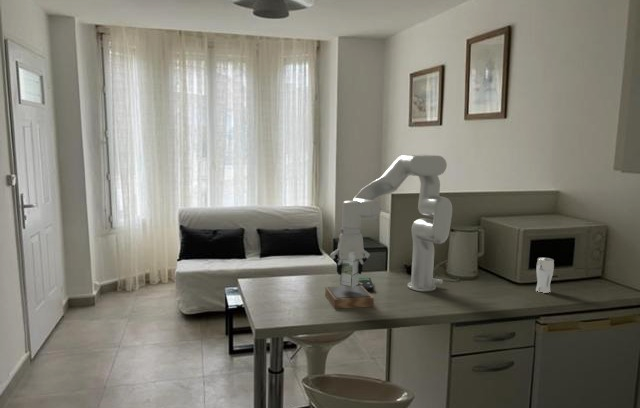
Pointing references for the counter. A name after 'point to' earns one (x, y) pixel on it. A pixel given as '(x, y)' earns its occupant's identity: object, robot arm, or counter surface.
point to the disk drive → (366, 284)
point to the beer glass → (544, 274)
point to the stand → (349, 297)
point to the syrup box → (349, 271)
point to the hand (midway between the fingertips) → (349, 273)
